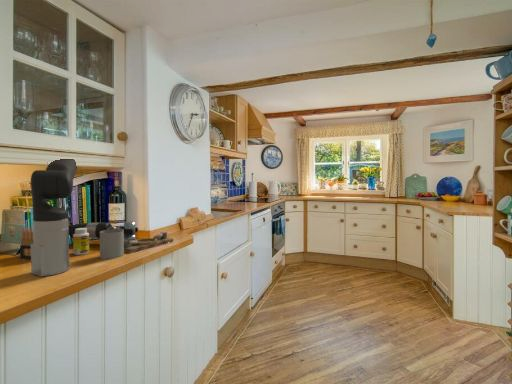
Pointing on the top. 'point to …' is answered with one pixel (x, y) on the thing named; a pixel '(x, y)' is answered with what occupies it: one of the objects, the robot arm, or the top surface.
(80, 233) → the supplement bottle
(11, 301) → the top surface
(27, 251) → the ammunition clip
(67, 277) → the top surface
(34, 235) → the robot arm
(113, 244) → the cup
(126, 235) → the universal joint
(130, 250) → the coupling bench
